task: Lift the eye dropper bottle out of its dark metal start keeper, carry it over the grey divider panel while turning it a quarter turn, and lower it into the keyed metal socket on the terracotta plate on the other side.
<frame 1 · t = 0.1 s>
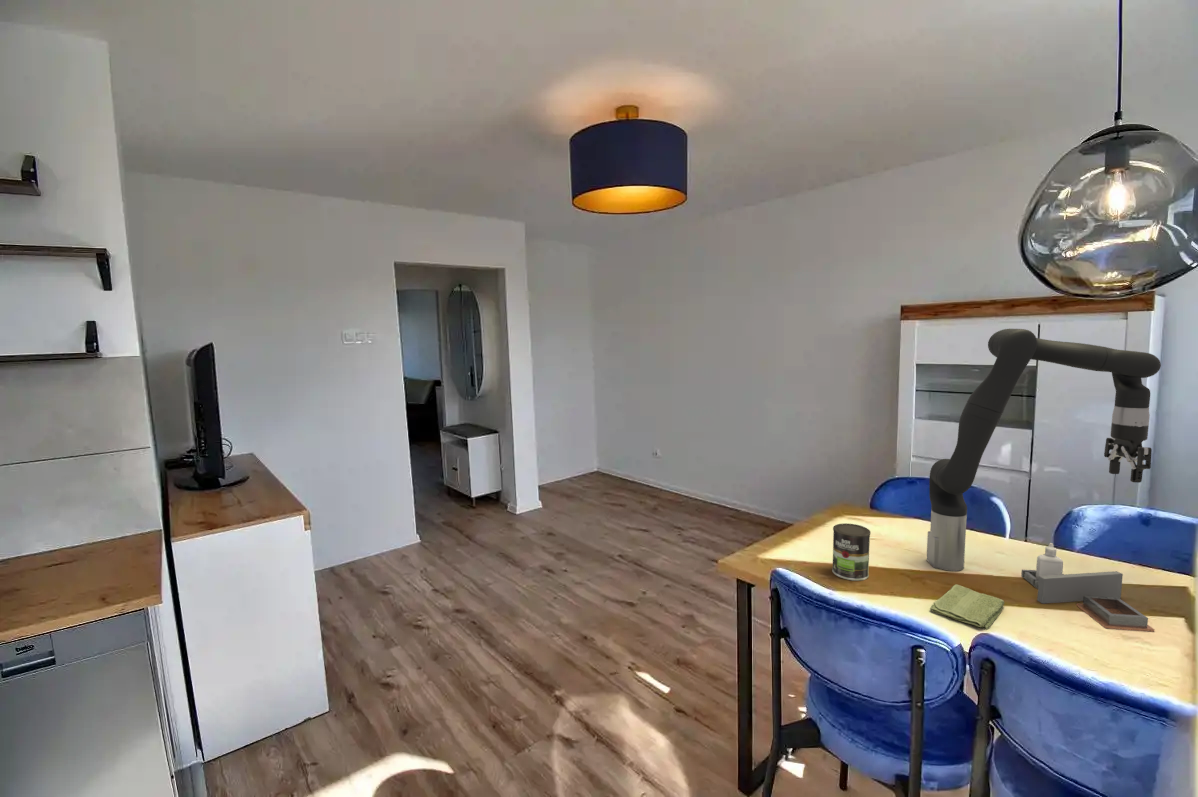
hand: (1124, 477, 154), 29 cm above the table, tool pointing down, fingers open, 8 cm apart
washcloth: (968, 612, 142), on the table
start keeper: (1048, 583, 154), on the table
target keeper: (1113, 617, 136), on the table
eye dropper bottle: (1048, 583, 154), resting in start keeper
coffee can: (850, 573, 165), on the table
grey divider panel: (1078, 599, 145), on the table
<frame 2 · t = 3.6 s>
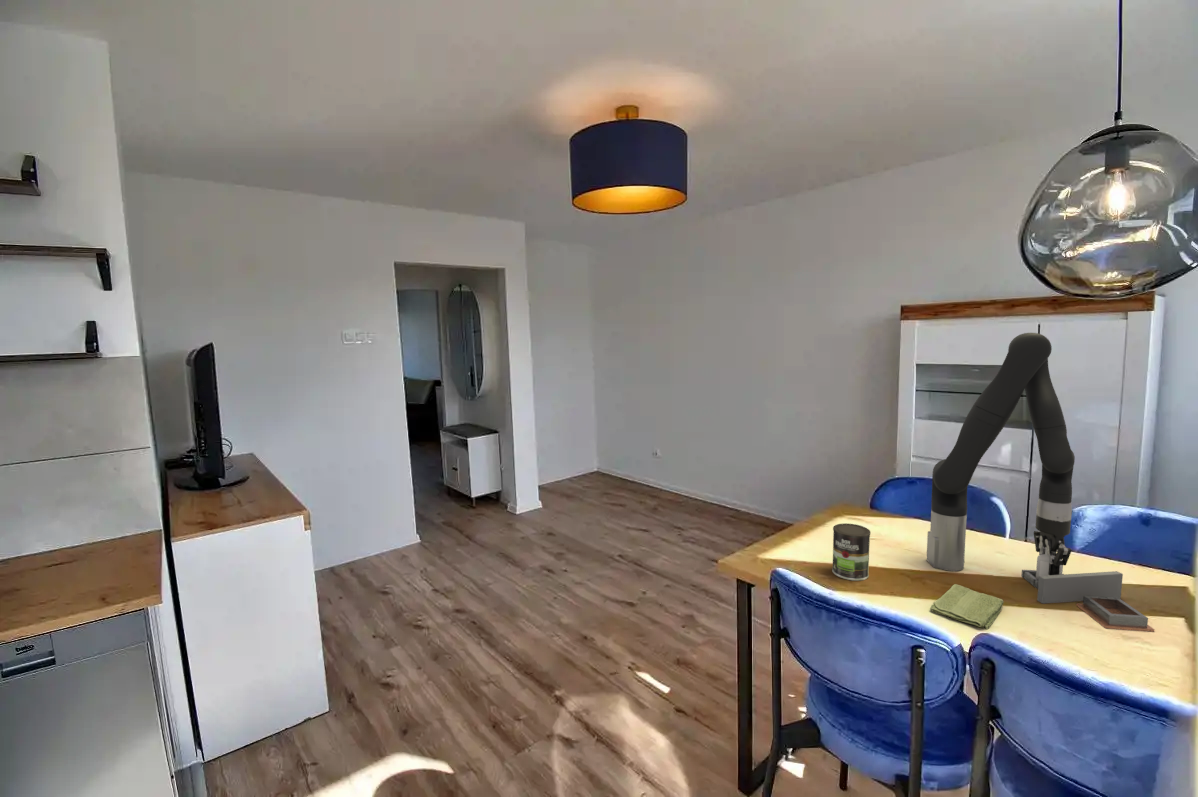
hand: (1049, 572, 154), 3 cm above the table, tool pointing down, fingers closed on eye dropper bottle, 3 cm apart
eye dropper bottle: (1048, 583, 154), resting in start keeper, touching gripper
everything else where it was.
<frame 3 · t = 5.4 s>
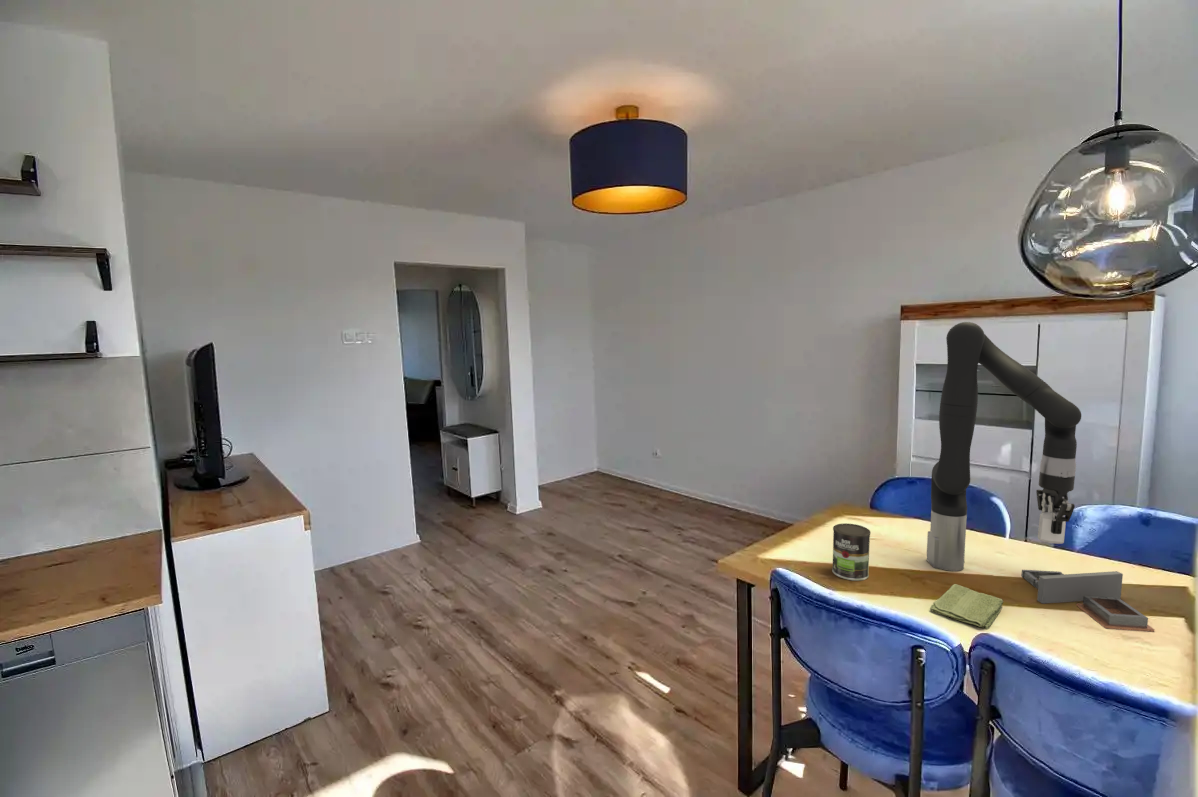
hand: (1051, 530, 152), 16 cm above the table, tool pointing down, fingers closed on eye dropper bottle, 3 cm apart
eye dropper bottle: (1050, 541, 153), point 12 cm above the table, touching gripper
everything else where it was.
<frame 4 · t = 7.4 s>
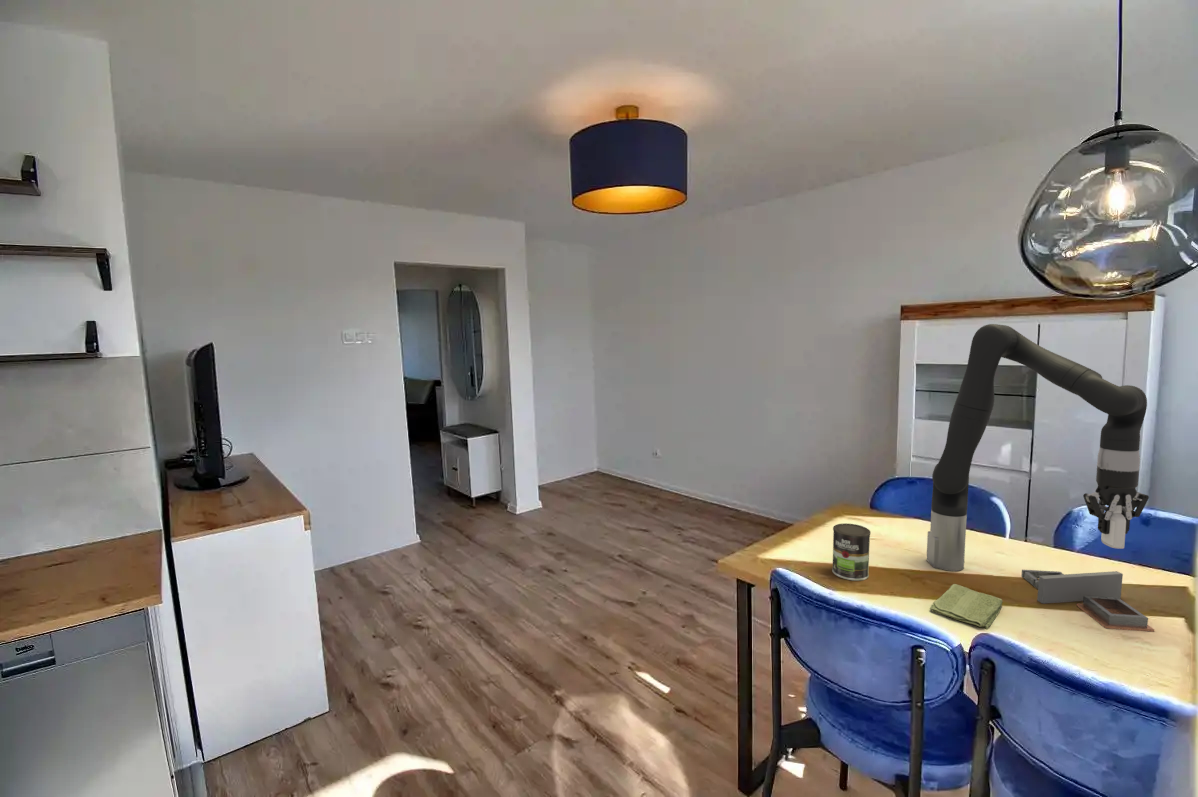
hand: (1113, 532, 135), 22 cm above the table, tool pointing down, fingers closed on eye dropper bottle, 3 cm apart
eye dropper bottle: (1112, 545, 135), point 18 cm above the table, touching gripper
everything else where it was.
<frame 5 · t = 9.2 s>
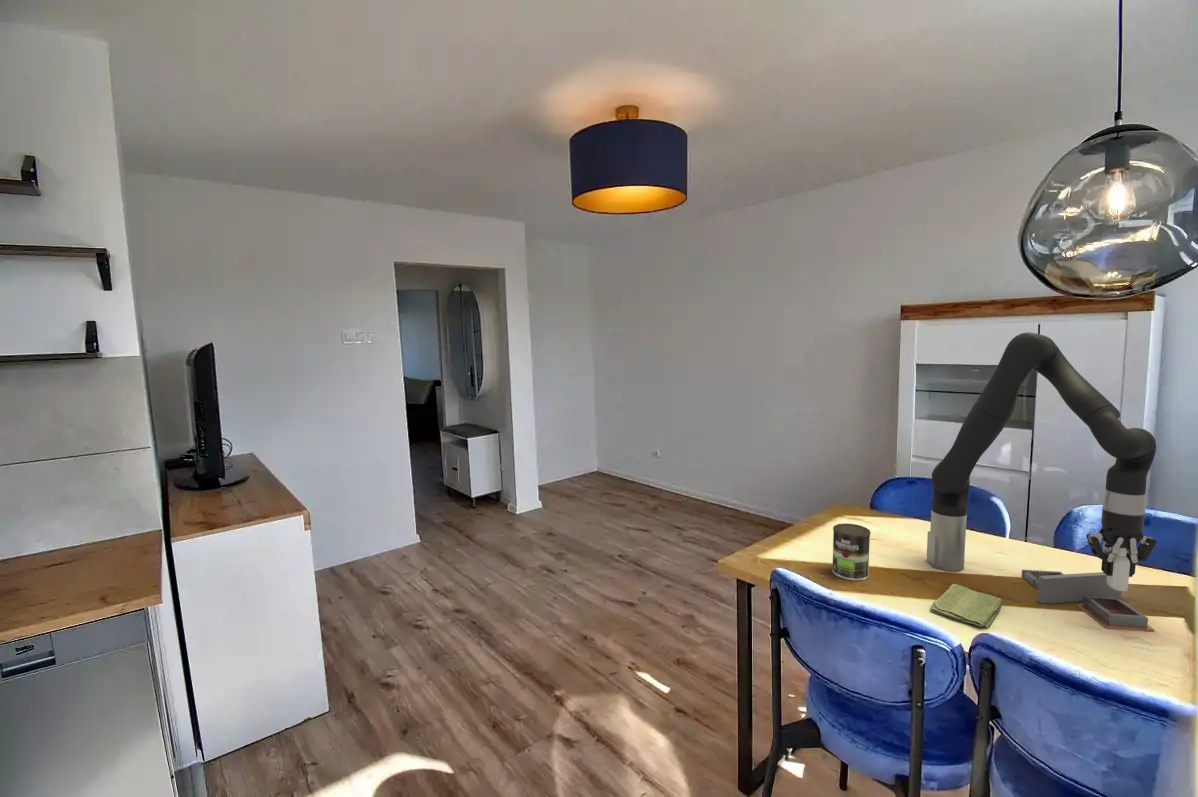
hand: (1117, 574, 134), 11 cm above the table, tool pointing down, fingers closed on eye dropper bottle, 3 cm apart
eye dropper bottle: (1116, 587, 135), point 8 cm above the table, touching gripper
everything else where it was.
when the fingers open (5 cm above the table, at t = 11.0 s): eye dropper bottle drops 1 cm, resting on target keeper.
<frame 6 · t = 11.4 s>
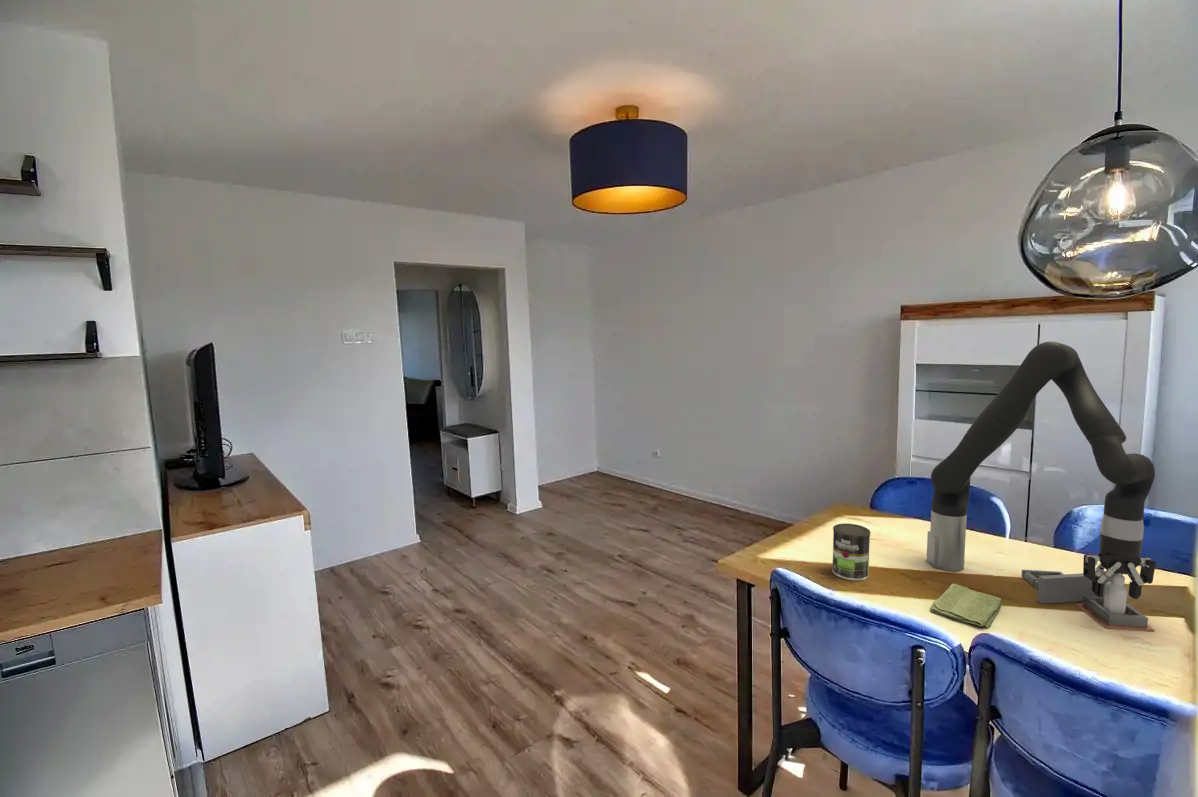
hand: (1115, 596, 135), 6 cm above the table, tool pointing down, fingers open, 7 cm apart
eye dropper bottle: (1113, 616, 136), resting on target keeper
everything else where it was.
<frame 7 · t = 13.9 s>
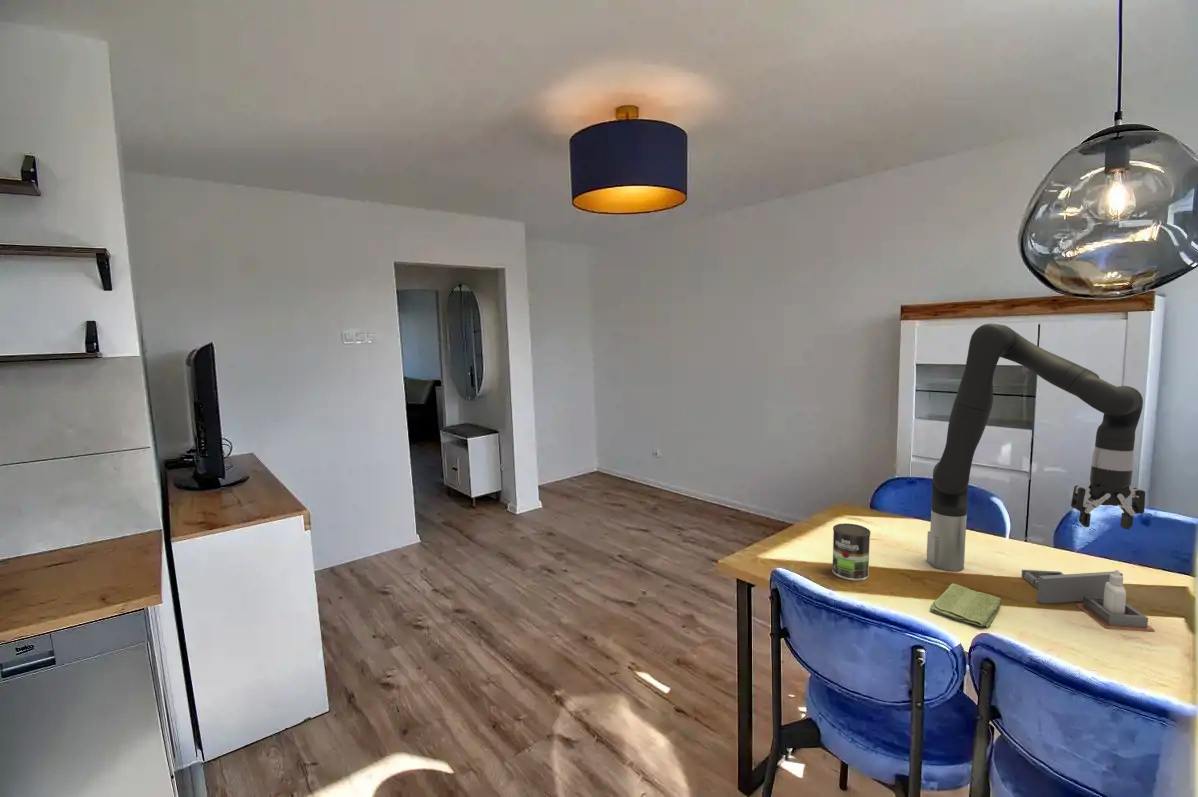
hand: (1104, 527, 137), 22 cm above the table, tool pointing down, fingers open, 8 cm apart
nothing on the table moved.
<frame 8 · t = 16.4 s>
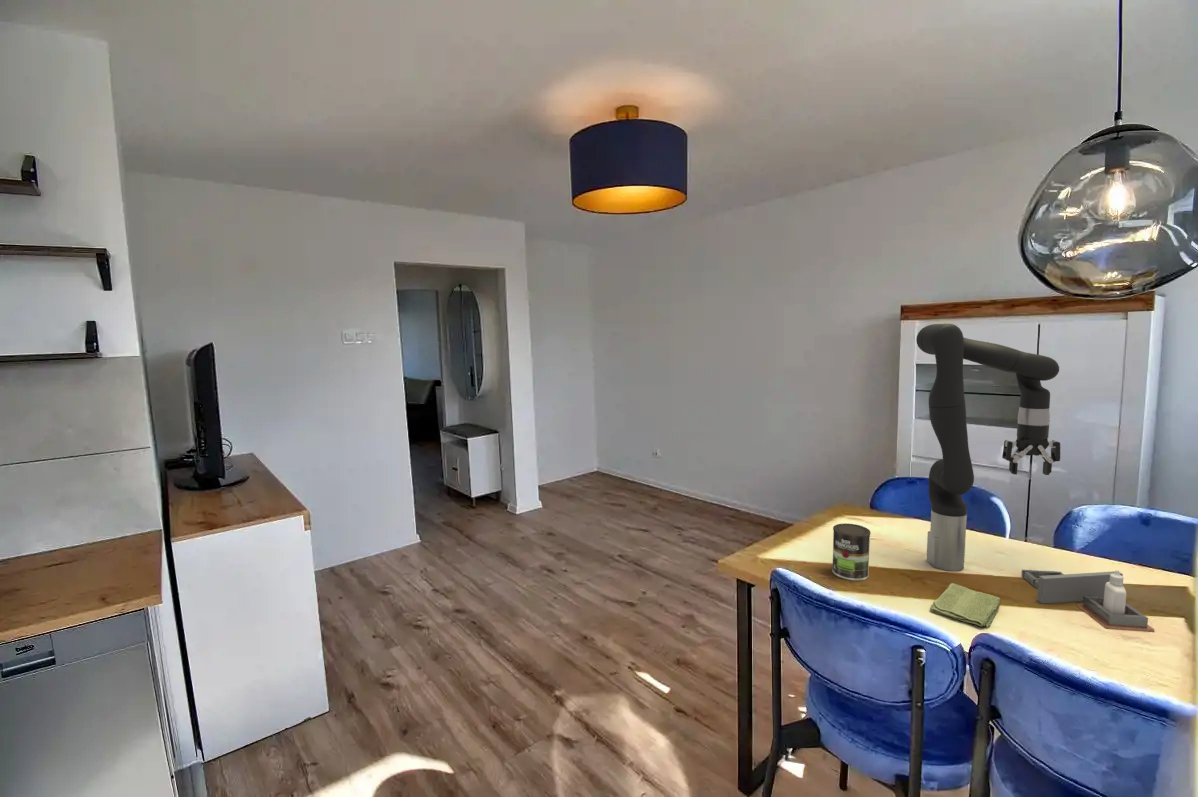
hand: (1029, 474, 165), 28 cm above the table, tool pointing down, fingers open, 8 cm apart
nothing on the table moved.
at the end: eye dropper bottle 0.1 cm off-centre on the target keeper, point 0.4 cm above the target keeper's base; eye dropper bottle tilted 0°; the gripper is holding nothing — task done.
